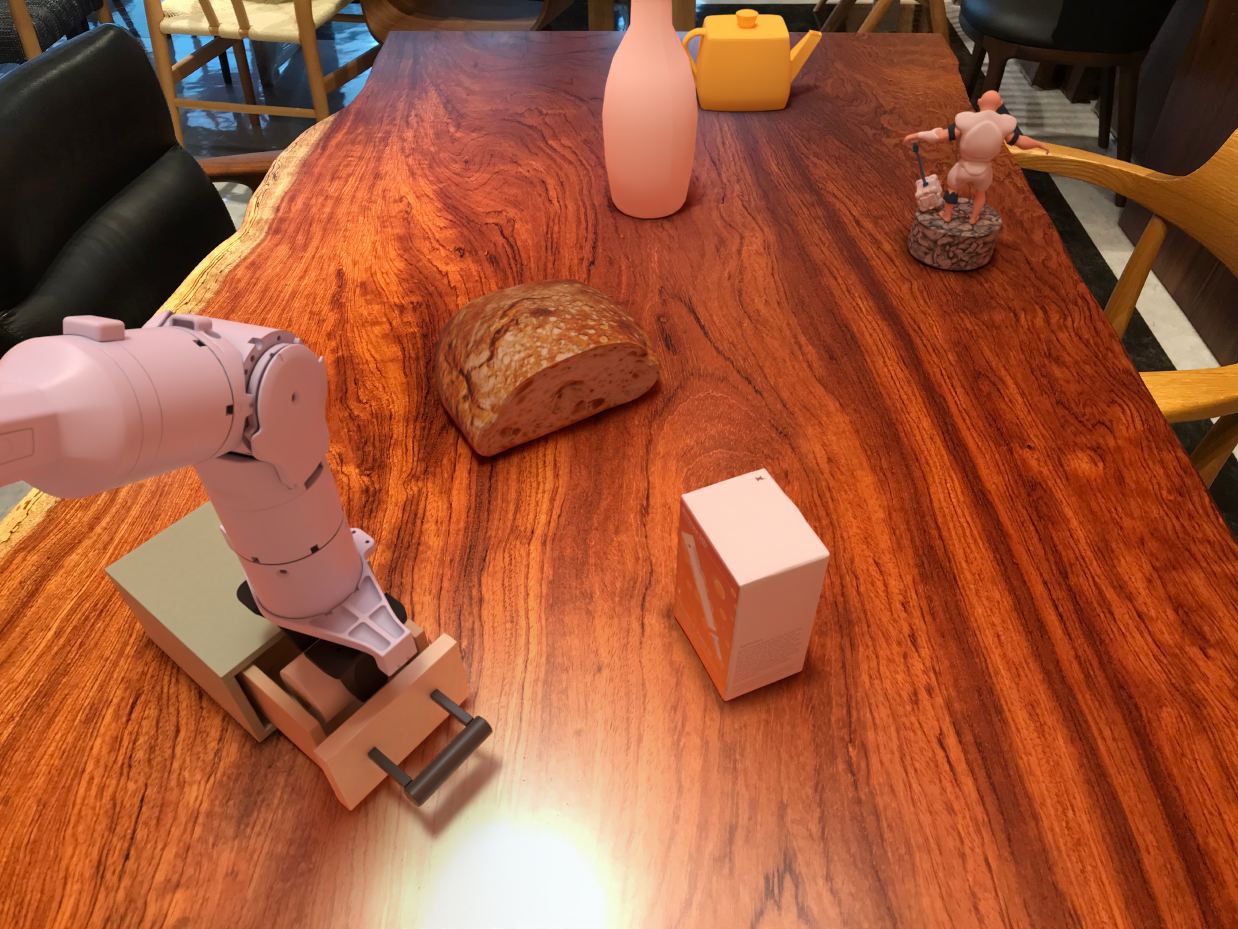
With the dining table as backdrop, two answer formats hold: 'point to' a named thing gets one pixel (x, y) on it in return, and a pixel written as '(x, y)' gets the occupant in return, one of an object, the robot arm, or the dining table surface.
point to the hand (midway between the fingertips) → (347, 668)
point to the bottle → (650, 115)
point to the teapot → (746, 61)
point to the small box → (747, 581)
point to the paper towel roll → (315, 689)
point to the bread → (539, 361)
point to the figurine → (950, 223)
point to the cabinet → (198, 609)
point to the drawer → (375, 719)
